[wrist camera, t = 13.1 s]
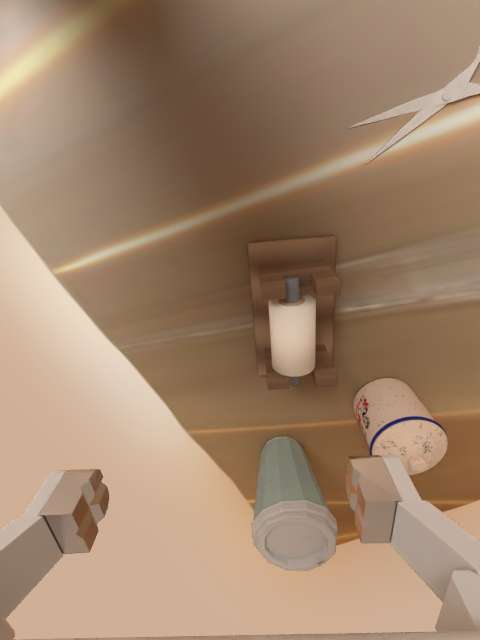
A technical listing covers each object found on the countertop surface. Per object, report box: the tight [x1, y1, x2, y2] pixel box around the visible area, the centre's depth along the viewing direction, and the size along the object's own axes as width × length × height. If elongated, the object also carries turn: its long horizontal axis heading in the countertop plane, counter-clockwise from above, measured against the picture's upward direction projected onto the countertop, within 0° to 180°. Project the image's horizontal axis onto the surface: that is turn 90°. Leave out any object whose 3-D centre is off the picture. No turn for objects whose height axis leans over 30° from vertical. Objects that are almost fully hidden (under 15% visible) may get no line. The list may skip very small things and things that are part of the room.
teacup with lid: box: [353, 378, 448, 475], centre depth 43 cm, size 12×9×12 cm
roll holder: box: [248, 235, 342, 390], centre depth 38 cm, size 18×10×8 cm, turn 5°
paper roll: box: [268, 276, 316, 386], centre depth 37 cm, size 13×5×5 cm
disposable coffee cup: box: [252, 436, 338, 571], centre depth 46 cm, size 11×11×15 cm
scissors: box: [349, 47, 480, 163], centre depth 32 cm, size 11×1×20 cm
